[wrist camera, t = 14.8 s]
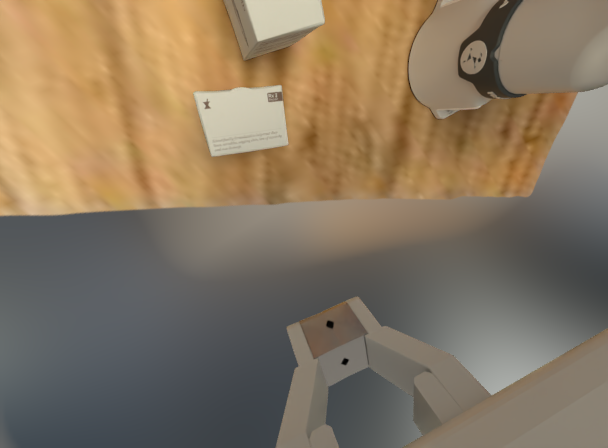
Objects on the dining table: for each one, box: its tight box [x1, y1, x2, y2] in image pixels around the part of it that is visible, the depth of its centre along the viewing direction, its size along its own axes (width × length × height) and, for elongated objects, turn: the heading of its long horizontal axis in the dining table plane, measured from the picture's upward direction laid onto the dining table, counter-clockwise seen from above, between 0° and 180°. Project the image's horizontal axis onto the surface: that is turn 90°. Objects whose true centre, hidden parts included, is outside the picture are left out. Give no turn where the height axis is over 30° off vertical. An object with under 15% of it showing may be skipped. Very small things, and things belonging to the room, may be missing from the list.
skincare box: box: [193, 85, 288, 157], centre depth 30 cm, size 8×6×15 cm
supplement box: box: [223, 0, 325, 61], centre depth 27 cm, size 7×7×13 cm
